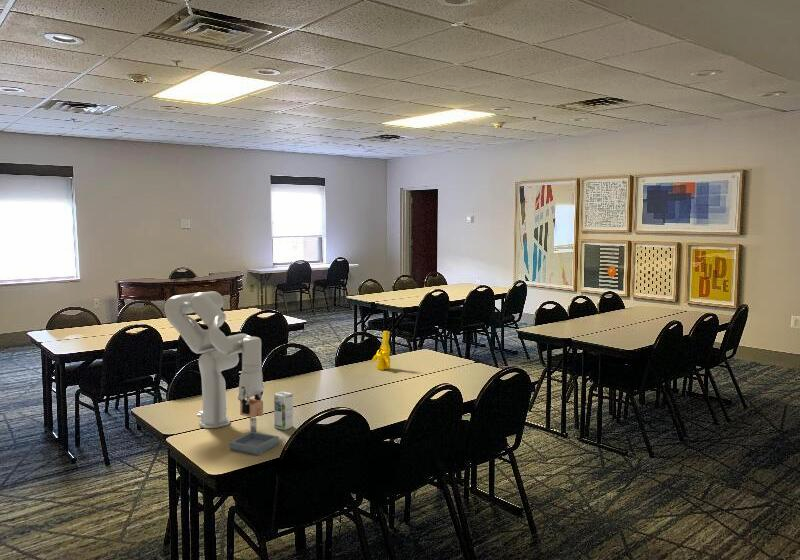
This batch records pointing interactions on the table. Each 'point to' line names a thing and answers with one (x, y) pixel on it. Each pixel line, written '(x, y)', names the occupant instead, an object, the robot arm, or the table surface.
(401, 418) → the table surface
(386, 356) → the figure statuette
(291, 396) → the syrup box
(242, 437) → the tray
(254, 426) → the stake
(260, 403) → the salmon pink block
